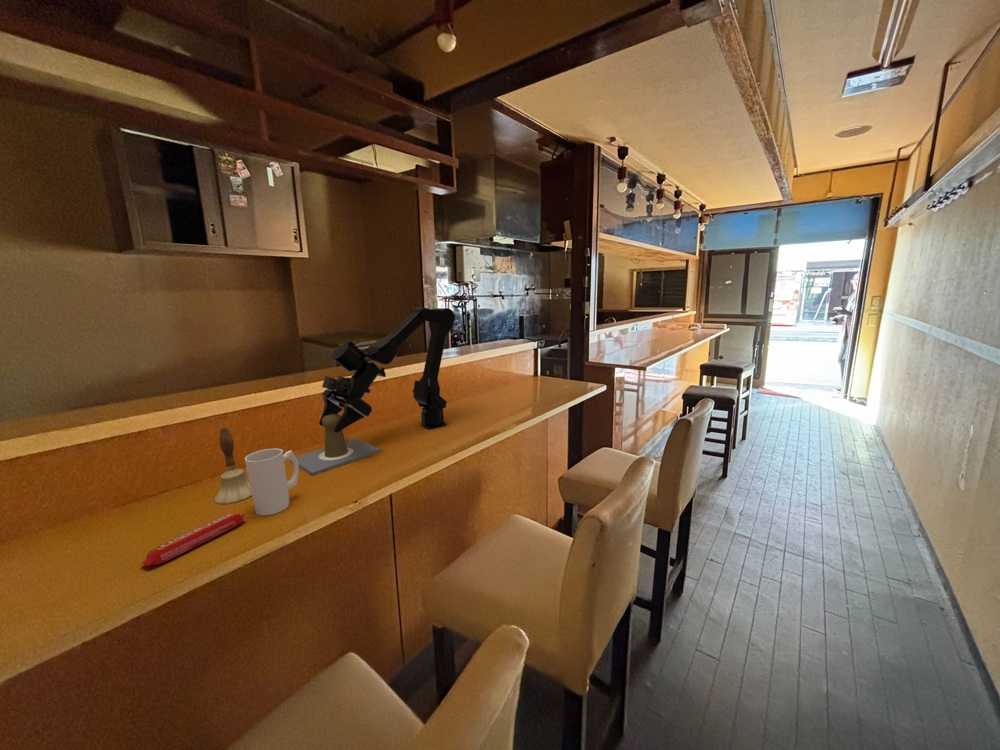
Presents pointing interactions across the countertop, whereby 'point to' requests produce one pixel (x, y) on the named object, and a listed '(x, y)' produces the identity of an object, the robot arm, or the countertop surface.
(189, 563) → the countertop surface
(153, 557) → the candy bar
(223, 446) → the hand bell
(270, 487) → the mug
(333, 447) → the olive rounded peg
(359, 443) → the board
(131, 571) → the countertop surface
